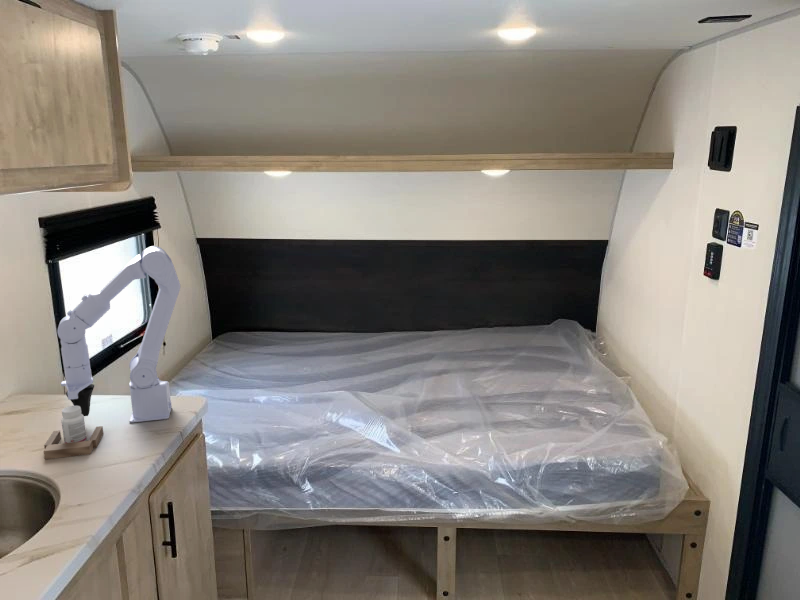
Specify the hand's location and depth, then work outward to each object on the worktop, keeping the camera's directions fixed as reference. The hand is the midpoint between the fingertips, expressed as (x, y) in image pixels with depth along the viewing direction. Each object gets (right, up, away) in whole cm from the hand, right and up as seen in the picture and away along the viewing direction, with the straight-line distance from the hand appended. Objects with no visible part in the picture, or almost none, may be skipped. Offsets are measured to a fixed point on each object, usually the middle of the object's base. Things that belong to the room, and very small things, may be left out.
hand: (84, 415), depth 153 cm
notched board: (+3, -5, -10) cm, 11 cm away
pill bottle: (+2, -5, -8) cm, 9 cm away
